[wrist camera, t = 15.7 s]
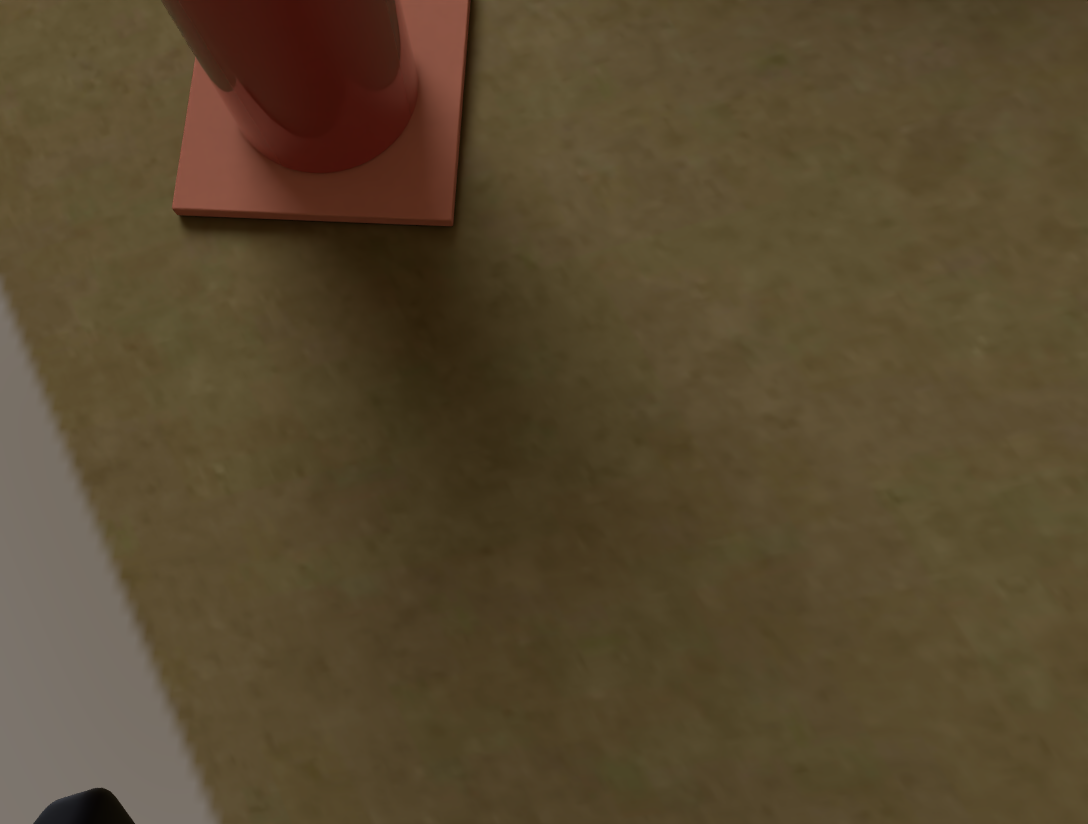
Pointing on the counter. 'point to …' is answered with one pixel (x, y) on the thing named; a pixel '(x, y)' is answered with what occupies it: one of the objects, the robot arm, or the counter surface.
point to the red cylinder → (307, 74)
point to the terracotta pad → (354, 194)
